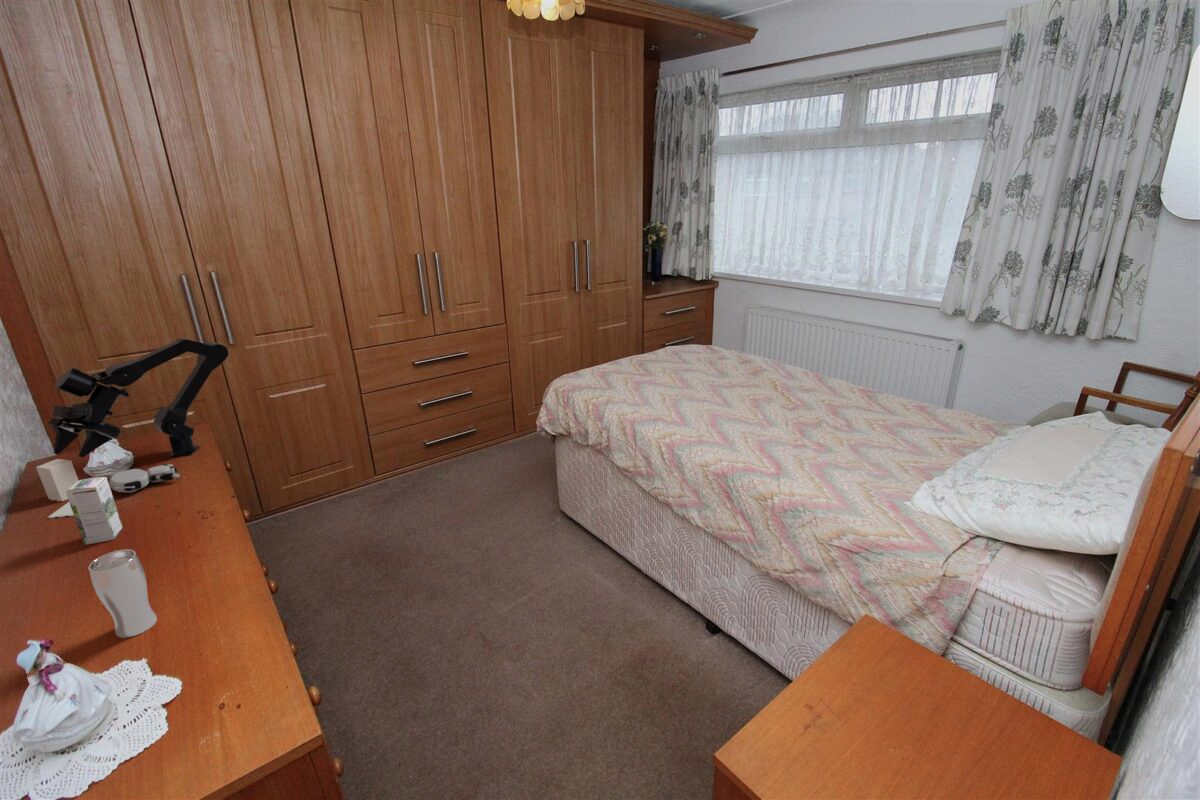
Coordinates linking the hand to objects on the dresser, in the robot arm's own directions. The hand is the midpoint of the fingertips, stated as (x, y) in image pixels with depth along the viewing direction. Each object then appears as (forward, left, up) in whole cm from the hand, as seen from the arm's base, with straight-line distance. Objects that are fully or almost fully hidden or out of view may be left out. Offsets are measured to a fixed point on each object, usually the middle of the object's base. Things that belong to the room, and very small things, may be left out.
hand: (68, 455), depth 148 cm
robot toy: (+1, +17, -11) cm, 20 cm away
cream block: (+3, -2, -11) cm, 11 cm away
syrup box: (+28, +21, -11) cm, 37 cm away
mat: (+12, +6, -11) cm, 17 cm away
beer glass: (+64, +46, -11) cm, 80 cm away
